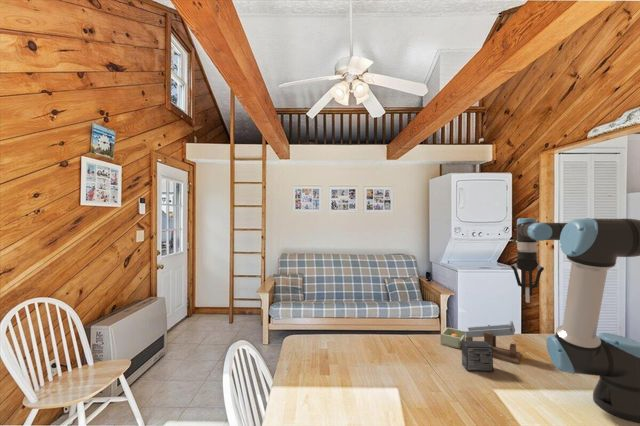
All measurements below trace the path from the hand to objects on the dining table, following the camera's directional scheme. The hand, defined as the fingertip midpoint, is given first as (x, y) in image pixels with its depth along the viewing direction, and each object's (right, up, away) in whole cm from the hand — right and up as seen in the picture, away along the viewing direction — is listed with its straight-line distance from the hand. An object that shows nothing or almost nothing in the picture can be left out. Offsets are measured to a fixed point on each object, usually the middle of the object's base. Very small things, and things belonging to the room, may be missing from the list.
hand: (527, 301), depth 141 cm
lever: (-15, -16, +4) cm, 22 cm away
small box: (-30, -24, -13) cm, 41 cm away
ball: (-29, -21, +11) cm, 38 cm away
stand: (-17, -24, +1) cm, 29 cm away
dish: (-30, -24, +11) cm, 40 cm away
